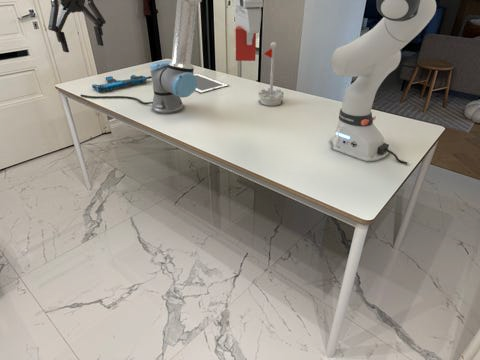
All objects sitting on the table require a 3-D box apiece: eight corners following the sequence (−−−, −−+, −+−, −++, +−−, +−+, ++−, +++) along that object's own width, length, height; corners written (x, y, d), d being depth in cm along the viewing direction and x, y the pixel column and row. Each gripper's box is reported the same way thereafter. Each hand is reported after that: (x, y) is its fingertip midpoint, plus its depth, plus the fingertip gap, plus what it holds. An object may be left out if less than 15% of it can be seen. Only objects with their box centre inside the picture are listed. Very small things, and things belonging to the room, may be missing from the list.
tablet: (171, 80, 212) (171, 79, 212) (198, 74, 223) (197, 73, 223) (200, 93, 192) (200, 92, 192) (228, 85, 203) (228, 85, 203)
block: (236, 57, 127) (236, 26, 121) (255, 57, 126) (256, 26, 120) (235, 60, 122) (235, 28, 116) (255, 60, 122) (256, 29, 116)
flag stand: (276, 96, 187) (279, 38, 170) (287, 104, 177) (292, 43, 160) (254, 99, 183) (255, 40, 167) (264, 107, 173) (267, 45, 156)
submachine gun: (137, 69, 223) (155, 75, 206) (138, 75, 224) (156, 82, 208) (84, 79, 204) (100, 87, 187) (86, 86, 206) (101, 94, 189)
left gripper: (95, -21, 122) (108, 41, 134) (23, -18, 106) (44, 53, 117) (107, -21, 118) (119, 44, 130) (34, -17, 102) (55, 56, 114)
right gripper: (230, -4, 121) (230, 37, 129) (245, 2, 105) (245, 49, 112) (247, -5, 123) (246, 36, 130) (264, 1, 106) (263, 48, 114)
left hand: (84, 48), depth 124 cm, fingers open, 13 cm apart
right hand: (246, 42), depth 121 cm, fingers closed on block, 6 cm apart
